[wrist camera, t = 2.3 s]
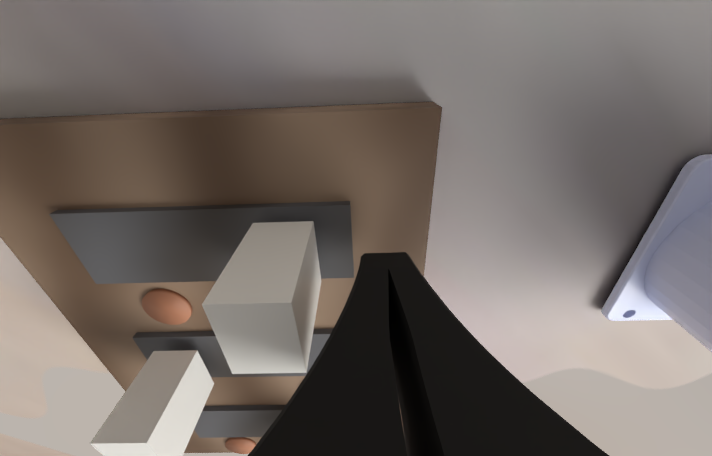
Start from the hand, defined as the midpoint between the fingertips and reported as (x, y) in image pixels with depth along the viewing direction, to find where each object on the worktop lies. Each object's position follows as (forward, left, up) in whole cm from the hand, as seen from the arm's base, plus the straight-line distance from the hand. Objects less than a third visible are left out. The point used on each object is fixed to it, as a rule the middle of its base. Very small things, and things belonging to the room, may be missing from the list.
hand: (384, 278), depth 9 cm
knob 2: (+3, 0, -1) cm, 3 cm away
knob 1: (+9, +7, -1) cm, 11 cm away
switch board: (+6, +7, -3) cm, 10 cm away
